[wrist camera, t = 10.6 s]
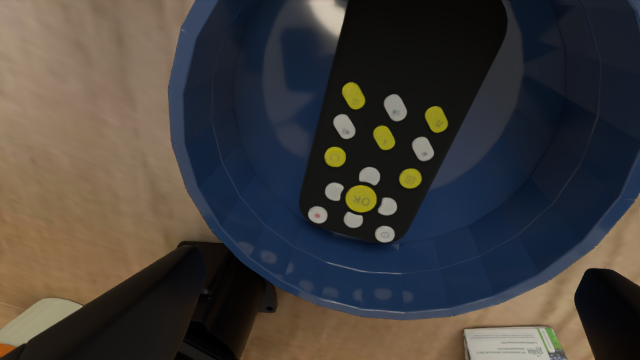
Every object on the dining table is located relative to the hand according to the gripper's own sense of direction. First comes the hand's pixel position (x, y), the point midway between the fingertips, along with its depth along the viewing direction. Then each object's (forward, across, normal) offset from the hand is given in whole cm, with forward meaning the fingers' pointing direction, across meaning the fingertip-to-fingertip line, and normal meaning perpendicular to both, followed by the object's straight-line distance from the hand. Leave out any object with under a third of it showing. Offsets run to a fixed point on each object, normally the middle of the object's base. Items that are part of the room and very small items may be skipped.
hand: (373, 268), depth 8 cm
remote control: (+10, 0, 0) cm, 10 cm away
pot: (+10, 0, 0) cm, 11 cm away
